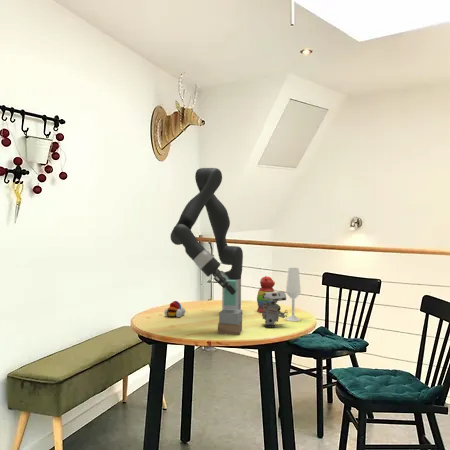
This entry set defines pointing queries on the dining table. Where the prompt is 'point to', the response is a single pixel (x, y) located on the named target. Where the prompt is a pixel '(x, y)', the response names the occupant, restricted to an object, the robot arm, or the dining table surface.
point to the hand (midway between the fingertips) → (234, 292)
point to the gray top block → (230, 316)
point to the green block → (228, 297)
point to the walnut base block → (230, 329)
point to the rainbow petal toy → (175, 310)
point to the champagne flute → (293, 289)
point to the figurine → (273, 308)
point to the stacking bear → (264, 291)
